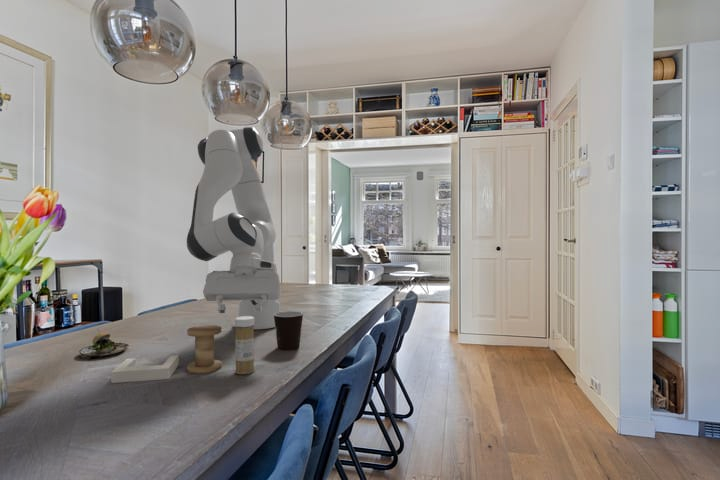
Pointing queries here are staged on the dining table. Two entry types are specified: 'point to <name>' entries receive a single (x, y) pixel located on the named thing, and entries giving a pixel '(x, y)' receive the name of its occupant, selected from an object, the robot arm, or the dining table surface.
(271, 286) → the robot arm
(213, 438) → the dining table surface
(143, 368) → the notched board
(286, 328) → the dark brown cup
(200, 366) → the oak spool
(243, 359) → the sprinkles bottle
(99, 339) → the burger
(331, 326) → the dining table surface
